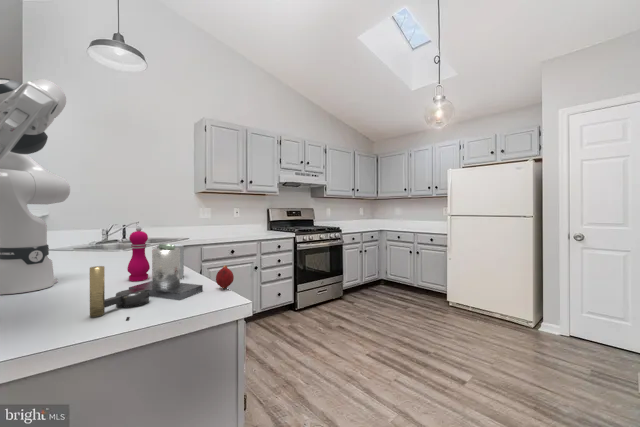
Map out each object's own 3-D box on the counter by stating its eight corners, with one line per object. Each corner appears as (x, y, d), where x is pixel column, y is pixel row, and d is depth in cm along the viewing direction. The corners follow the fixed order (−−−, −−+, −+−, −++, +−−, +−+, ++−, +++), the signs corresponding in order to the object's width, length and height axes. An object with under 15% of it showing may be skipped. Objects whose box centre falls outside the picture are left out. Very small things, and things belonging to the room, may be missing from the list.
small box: (178, 275, 119) (178, 243, 119) (183, 278, 114) (184, 245, 114) (156, 278, 113) (156, 245, 113) (160, 282, 109) (160, 246, 108)
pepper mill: (145, 276, 117) (145, 226, 117) (152, 279, 112) (152, 227, 112) (124, 279, 111) (124, 226, 111) (131, 283, 107) (131, 227, 106)
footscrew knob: (79, 314, 74) (79, 267, 74) (134, 297, 89) (134, 257, 89) (102, 318, 72) (102, 269, 72) (155, 299, 87) (155, 259, 87)
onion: (230, 291, 98) (230, 267, 98) (213, 291, 98) (213, 267, 98) (235, 286, 104) (235, 263, 103) (219, 286, 104) (219, 263, 103)
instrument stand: (68, 311, 77) (68, 252, 77) (154, 285, 103) (154, 241, 103) (127, 320, 71) (127, 256, 71) (202, 291, 97) (203, 244, 97)
